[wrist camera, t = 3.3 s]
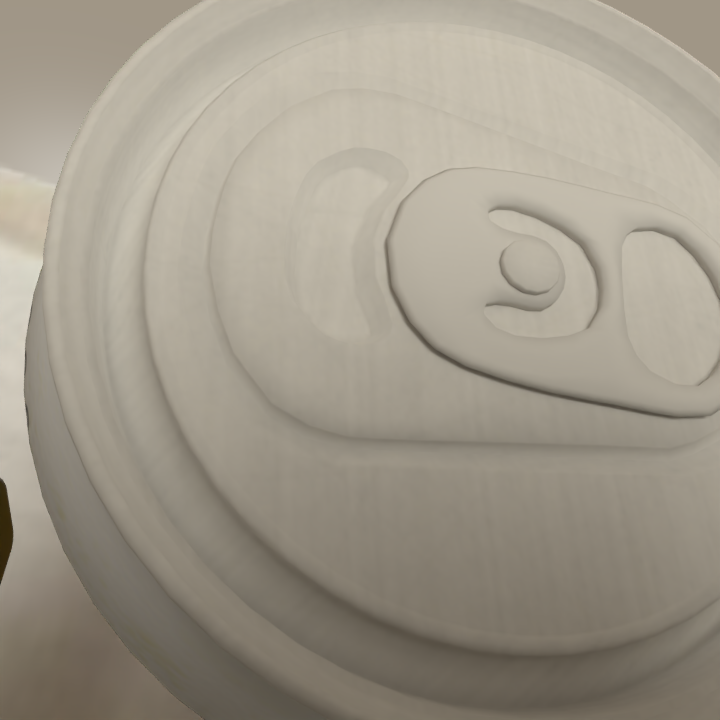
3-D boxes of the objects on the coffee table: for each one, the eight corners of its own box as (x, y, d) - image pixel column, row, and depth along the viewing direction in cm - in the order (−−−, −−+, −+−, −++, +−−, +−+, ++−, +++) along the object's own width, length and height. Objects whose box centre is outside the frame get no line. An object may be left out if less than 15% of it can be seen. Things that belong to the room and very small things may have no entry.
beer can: (209, 412, 18) (140, -178, 4) (402, 446, 19) (852, 36, 5) (158, 631, 16) (-360, 834, 2) (382, 658, 16) (1129, 939, 3)
